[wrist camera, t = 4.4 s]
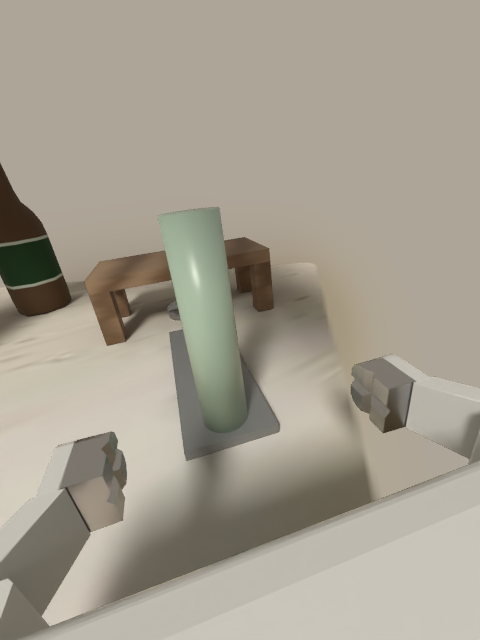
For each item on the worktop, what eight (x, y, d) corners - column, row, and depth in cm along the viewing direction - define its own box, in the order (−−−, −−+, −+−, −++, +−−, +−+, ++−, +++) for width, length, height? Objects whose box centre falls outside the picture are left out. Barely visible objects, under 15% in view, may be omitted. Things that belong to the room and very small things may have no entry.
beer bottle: (17, 321, 43) (-76, 132, 33) (20, 307, 49) (-57, 144, 39) (74, 306, 47) (6, 130, 36) (71, 295, 53) (12, 141, 43)
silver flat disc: (170, 326, 36) (168, 316, 36) (168, 310, 41) (166, 301, 41) (214, 316, 37) (213, 306, 37) (207, 302, 42) (205, 293, 42)
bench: (106, 345, 33) (84, 281, 29) (116, 313, 41) (99, 261, 38) (273, 308, 37) (269, 248, 33) (249, 286, 45) (244, 237, 42)
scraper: (279, 432, 19) (260, 204, 13) (186, 462, 18) (120, 224, 12) (222, 326, 34) (202, 199, 28) (170, 338, 33) (138, 207, 27)
